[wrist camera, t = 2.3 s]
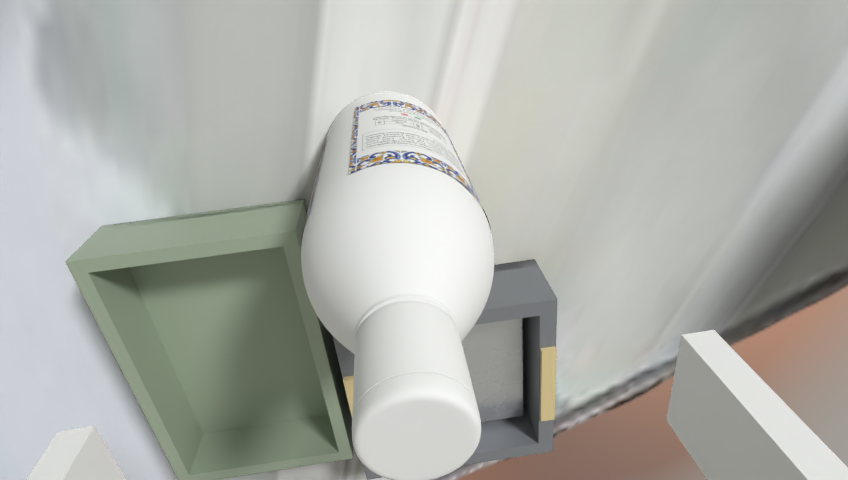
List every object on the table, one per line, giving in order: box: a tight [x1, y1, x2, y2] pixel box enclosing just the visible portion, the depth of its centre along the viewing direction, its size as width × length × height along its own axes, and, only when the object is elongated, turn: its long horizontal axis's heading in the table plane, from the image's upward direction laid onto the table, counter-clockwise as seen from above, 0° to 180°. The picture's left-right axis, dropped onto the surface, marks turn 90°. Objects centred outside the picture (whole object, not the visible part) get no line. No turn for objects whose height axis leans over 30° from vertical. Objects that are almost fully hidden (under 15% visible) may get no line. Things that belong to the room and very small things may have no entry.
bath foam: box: [301, 92, 494, 480], centre depth 20 cm, size 7×7×20 cm
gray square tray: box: [332, 260, 557, 480], centre depth 34 cm, size 13×13×5 cm
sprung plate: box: [461, 318, 523, 422], centre depth 34 cm, size 10×10×1 cm
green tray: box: [65, 199, 353, 480], centre depth 32 cm, size 12×18×4 cm, turn 7°
